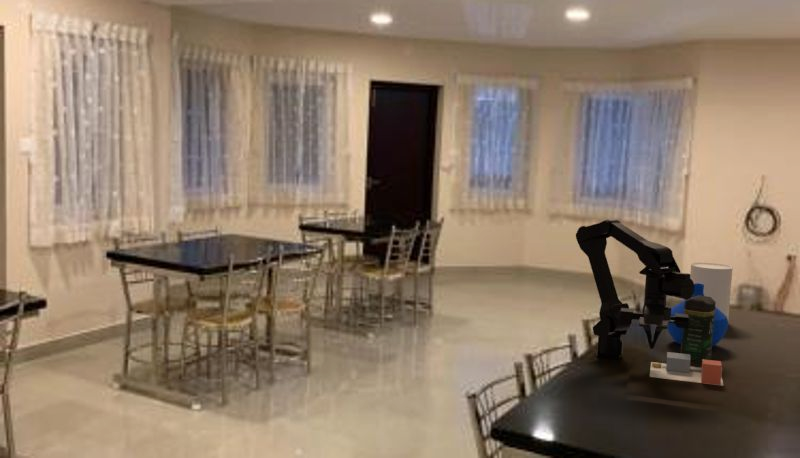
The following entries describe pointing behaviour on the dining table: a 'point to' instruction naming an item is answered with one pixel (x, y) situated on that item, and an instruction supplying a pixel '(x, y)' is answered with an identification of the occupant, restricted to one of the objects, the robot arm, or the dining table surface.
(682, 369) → the breaker toggle
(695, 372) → the panel
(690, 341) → the coffee jar
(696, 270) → the canister
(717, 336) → the vase
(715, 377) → the cap
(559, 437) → the dining table surface
